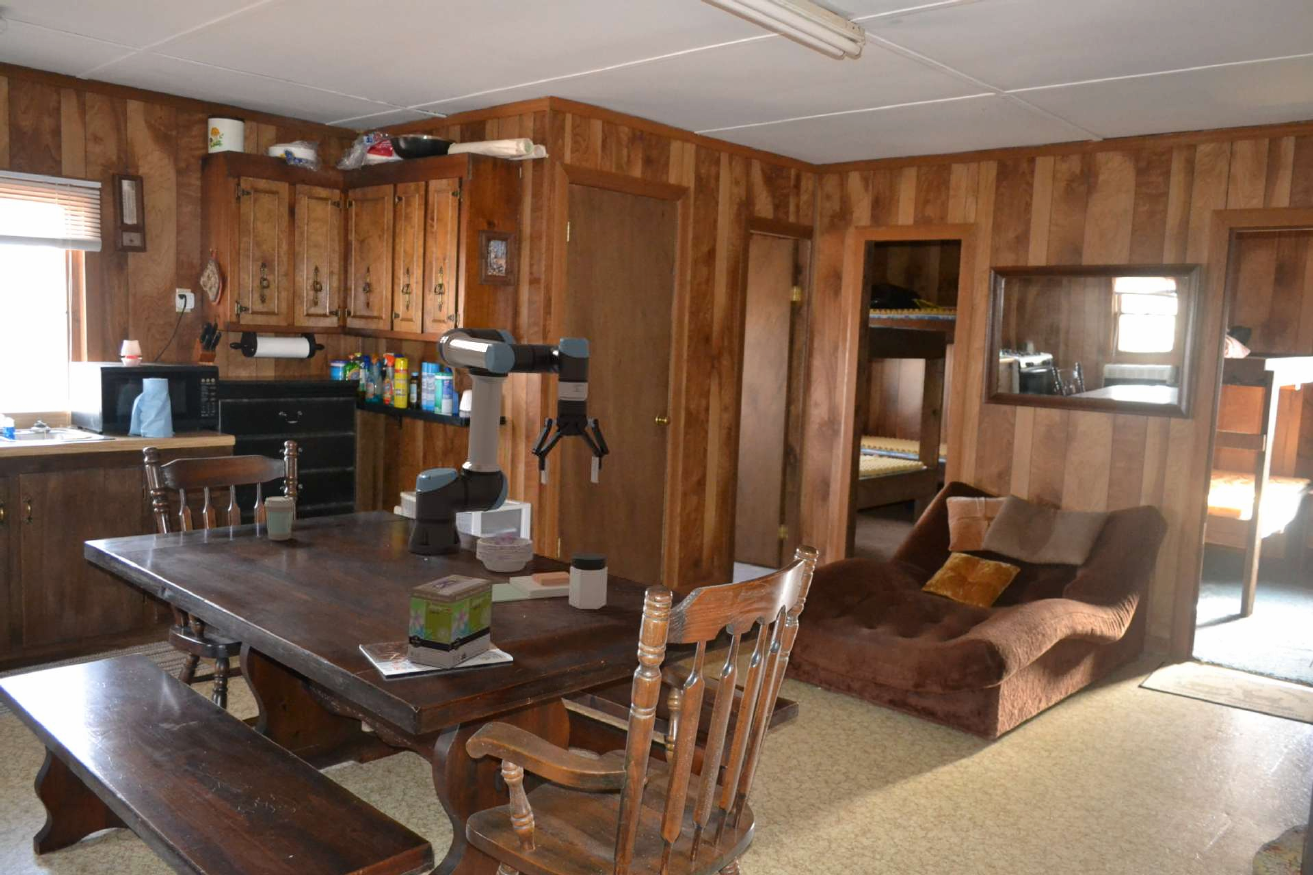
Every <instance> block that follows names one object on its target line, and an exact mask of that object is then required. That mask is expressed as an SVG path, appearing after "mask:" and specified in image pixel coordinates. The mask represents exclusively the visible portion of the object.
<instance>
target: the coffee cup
mask: <svg viewBox="0 0 1313 875" xmlns="http://www.w3.org/2000/svg"><path fill="white" fill-rule="evenodd" d="M263 506H264V508H265V516H266V525H267V526H266V527H267V536H268V540H269V541H286V540H287V541H288V540H290V537H291V531H292V522H293V515H294V508H295V507H294V506H296V504H295V500H294V498H293V497H290V496H269V497H266V498H265V502H264V505H263Z"/></svg>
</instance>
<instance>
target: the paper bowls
mask: <svg viewBox="0 0 1313 875" xmlns="http://www.w3.org/2000/svg"><path fill="white" fill-rule="evenodd" d="M533 557H534V541H533V540H531V539H529V538H525V537H521V536H519V537H518V536H512V535H511V536H508V535H507V536H506V535H501V536H500V535H497V536H495V535H494V536H486V537H485V536H484V537H481V538H479V539H477V541H476V559H477V560H480V561H482V563H483V565H484V567H485V568H486V569H487V570H488V571H491V572H495V573H496V572H497V573H515V572H519V571H522V570H523V569H524V567H525V565H526V563H527V562H531V561H532V560H533Z"/></svg>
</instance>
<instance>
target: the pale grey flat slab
mask: <svg viewBox="0 0 1313 875" xmlns="http://www.w3.org/2000/svg"><path fill="white" fill-rule="evenodd" d="M509 584H510V585H511V586H513V587H514V588H516V589H517V590H519V591H520V592H522V593H523V594H525V595H526V596H528V597H529V598H530V599H529V600H533V599H542V598H552V597H553V598H554V597H565V596H568V597H569V585H570V583H566V584H553V585H540V584H538V583H536V582H535V581H533V580H532V575H527V576H525V575H524V576H514V577H509Z"/></svg>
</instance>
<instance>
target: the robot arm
mask: <svg viewBox="0 0 1313 875" xmlns="http://www.w3.org/2000/svg"><path fill="white" fill-rule="evenodd" d="M436 344H437V345H436V353H437V356H438V358H439V359H440V360H441V361H442V362H443V363H444V364H445V365H446V366H448V367H452V368H456V369H465V370H467V374H468V376H469V377H470V379H471V380H472V388H471V389H472V390H471V402H470V404H471V406H470V417H469V418H470V420H469V421H470V422H469V436H468V450H467V460H466V461H465V462H464V463H462V464H461V465H462V466H461V472H458V469H457V468H452V467H444V468H443V467H442V468H441V467H438V468H433V469H427V470H423V471H422V472H420V473H419V474H418V475H417V476H416V483H415V518H414V521H415V522H414V525H413V528H412V531H411V534H410V537H409V539H408V546H407V548H408V551H409V552H411V553H414V554H420V555H427V556H429V555H430V556H431V555H432V556H433V555H434V556H435V555H437V556H440V555H451V554H456V553H458V552H461V551H462V539H461V537H460V533H459V529H458V526H457V514H461V513H473V512H474V513H477V512H482V513H485V512H490V511H496V510H499V509H500V508H502V506H503V505H504V504H505V502H506V500H507V498H508V493H509V482H508V477H507V475H506V474H505V472H503V471H502V466H501V465H500V464H499V462H498V450H499V436H500V426H501V424H500V423H501V410H502V409H501V408H502V394H503V383H504V382H505V381H506V380H507V379H508V377H509V374H535V375H537V374H540V375H541V374H542V375H543V374H545V375H558V376H557V378H558V379H557V381H558V382H557V397H558V398H559V399H558V400H557V404H556V405H557V406H556V407H557V409H556V419H554V418H549V417H545V419H544V424H543V428H542V429H541V431H540V432H539V435H538V437H537V439H536V441H535V443H534V445H533V447H532V449H531V452H530V453H531V454H532V455H534V456H536V457H538V463H537V464H538V470H539V471H541V479H540V480H541V483H542V484H544V485H548V483H549V461H550V460H549V457H547V455H549V453H550V452H551V451H552V449H553V448H554V447H555V446H556V445H557V443H559V441H560V440H561V439H562V438H563V437H564V436H565V437H571V436H574V437H581V438H582V440H583V441H584V443H585V444H586V446H588V448H589V449H590V450H591V452H592V454H594V455H593V456H591V471H590V473H591V474H590V476H591V478H590V481H591V482H592V483H595V484H599V470H602V463H603V461H602V459H603V458H604V456H606V455H609V454H610V450H609V448H608V445H607V443H606V441H605V439H604V436H603V434H602V431H601V429H600V423H599V419H598V418H596V417H595V418H594V417H591V418H589V419H588V417H587V415H588V401H587V400H586V399H587V398H588V394H589V393H588V392H589V391H588V390H589V389H588V388H589V387H588V386H589V382H588V381H589V366H590V364H589V363H590V351H589V348H590V347H589V346H590V345H589V344H590V343H589V340H588V339H587V338H585V337H582V338H581V337H561V338H560V339H559V340H558V344H552V343H551V344H550V343H548V344H547V343H545V344H543V343H541V344H539V343H538V344H537V343H517V342H516V341H515V338H514V336H513V335H512V333H510V332H509V331H508V330H504V329H496V328H479V327H478V328H476V327H475V328H471V327H470V328H469V327H468V328H467V327H456V328H453V329H449V330H447V331H445V332H443V334H442V335H440V337H439V339H438V340H437V343H436ZM554 426H556V427H557V429H556V430H555V431H554V434H553V435H552V436H551V437H550V438H549V435H550V433H551V430H552V429H553V428H554ZM587 426H588V427H590V429H591V431H592V434H593V436H594V439H595V441H596V443H597V444H596V443H595V441H594V440H593V439H592V438H591V436H590V435H589V432H588V431H587V430H586V427H587ZM548 438H549V439H548ZM547 439H548V441H547ZM546 441H547V442H546Z"/></svg>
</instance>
